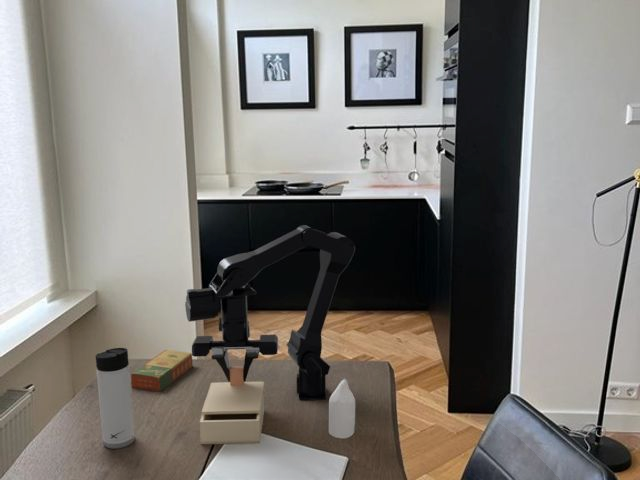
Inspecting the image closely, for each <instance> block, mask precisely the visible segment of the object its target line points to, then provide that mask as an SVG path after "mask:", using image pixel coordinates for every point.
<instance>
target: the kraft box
mask: <svg viewBox="0 0 640 480" xmlns="http://www.w3.org/2000/svg"><path fill="white" fill-rule="evenodd" d="M264 393H265V392H264V389H263V396H262V403H261V410H260V413H248V414H203V415H202V414H201V416H200V419H199V435H200V445H205V446H206V445H233V444H234V445H236V444H237V445H240V444H241V445H242V444H243V445H244V444H260V443H261V438H262V431H263V424H264V423H263V422H264V415H265V396H264V395H265V394H264Z"/></svg>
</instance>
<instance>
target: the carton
mask: <svg viewBox="0 0 640 480" xmlns="http://www.w3.org/2000/svg"><path fill="white" fill-rule="evenodd" d="M193 363H194V362H193V356H192V352H186V351H179V350H169V349H165V350H163V351H162V352H160V353H159V354H157V355H156V356H155V357H153V358H152V359H150V360H149V361H147V362H146V363H144V364H143V365H141V366H140V367H139V368H137V369H135V370H134V371H133V372H131V373H130V384H131V389H132V388H133V389H141V390H147V391H155V392H161V391H163V390H164V389H165V388H166V387H168V386H169V385H171V383H173V382H175V381H176V380H177V379H179V377H181V376H183V374H184V373H186V372H187V371H189V370H190V369H191V368H192V367H193V366H194V364H193Z"/></svg>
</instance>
